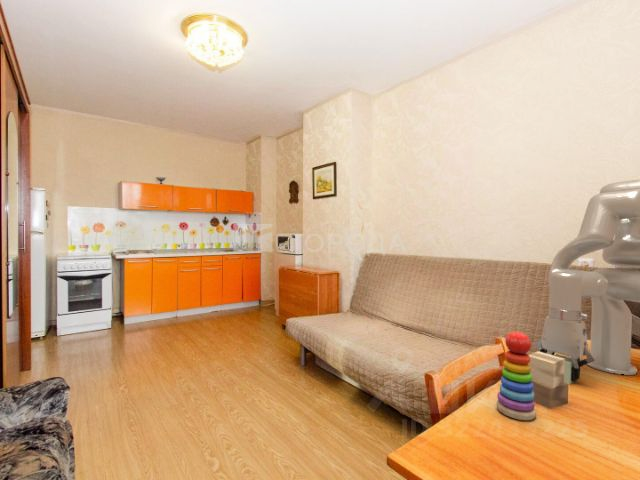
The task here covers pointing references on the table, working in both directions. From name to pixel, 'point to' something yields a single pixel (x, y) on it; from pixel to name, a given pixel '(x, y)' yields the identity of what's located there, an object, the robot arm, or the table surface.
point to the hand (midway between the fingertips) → (562, 376)
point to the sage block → (567, 368)
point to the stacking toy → (517, 380)
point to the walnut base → (550, 395)
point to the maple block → (547, 369)
